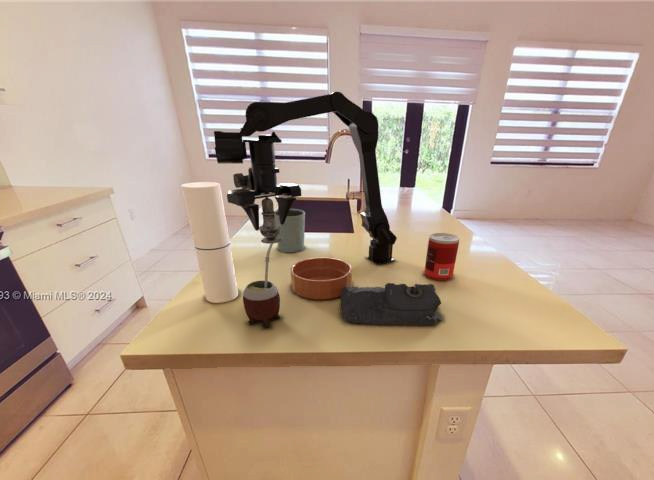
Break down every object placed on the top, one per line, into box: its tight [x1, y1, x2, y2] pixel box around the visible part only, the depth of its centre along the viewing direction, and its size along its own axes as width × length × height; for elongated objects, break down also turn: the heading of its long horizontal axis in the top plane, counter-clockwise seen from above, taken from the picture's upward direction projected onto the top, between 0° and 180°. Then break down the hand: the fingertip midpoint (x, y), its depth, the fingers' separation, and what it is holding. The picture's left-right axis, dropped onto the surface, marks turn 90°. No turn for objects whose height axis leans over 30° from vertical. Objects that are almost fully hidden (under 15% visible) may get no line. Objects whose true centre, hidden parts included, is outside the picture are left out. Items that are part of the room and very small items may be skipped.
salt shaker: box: [258, 197, 281, 245], centre depth 82 cm, size 6×6×12 cm
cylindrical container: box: [180, 181, 239, 304], centre depth 68 cm, size 7×7×25 cm
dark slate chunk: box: [339, 282, 443, 327], centre depth 70 cm, size 15×22×5 cm
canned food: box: [424, 232, 460, 281], centre depth 85 cm, size 8×8×11 cm
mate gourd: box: [242, 243, 281, 329], centre depth 62 cm, size 8×8×15 cm
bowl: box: [289, 257, 353, 300], centre depth 78 cm, size 15×15×5 cm
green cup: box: [274, 208, 306, 253], centre depth 102 cm, size 10×10×12 cm
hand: (269, 227), depth 83 cm, fingers closed on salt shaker, 8 cm apart
